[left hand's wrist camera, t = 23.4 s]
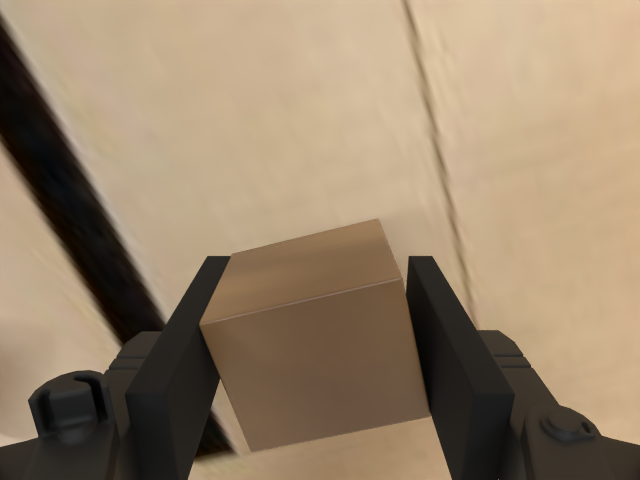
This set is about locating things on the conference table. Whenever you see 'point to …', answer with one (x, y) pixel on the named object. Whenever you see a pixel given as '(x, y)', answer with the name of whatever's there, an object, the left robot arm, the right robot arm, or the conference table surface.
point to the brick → (315, 338)
